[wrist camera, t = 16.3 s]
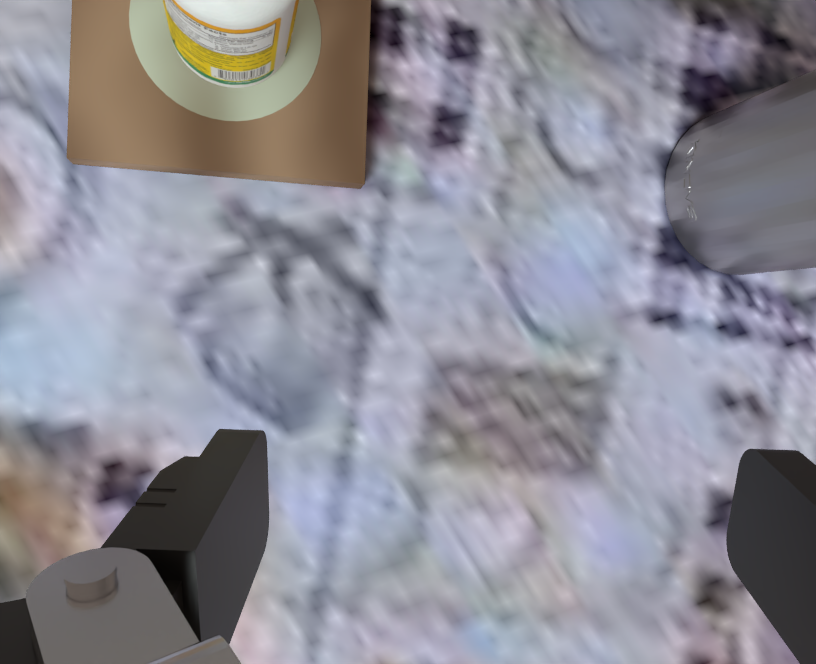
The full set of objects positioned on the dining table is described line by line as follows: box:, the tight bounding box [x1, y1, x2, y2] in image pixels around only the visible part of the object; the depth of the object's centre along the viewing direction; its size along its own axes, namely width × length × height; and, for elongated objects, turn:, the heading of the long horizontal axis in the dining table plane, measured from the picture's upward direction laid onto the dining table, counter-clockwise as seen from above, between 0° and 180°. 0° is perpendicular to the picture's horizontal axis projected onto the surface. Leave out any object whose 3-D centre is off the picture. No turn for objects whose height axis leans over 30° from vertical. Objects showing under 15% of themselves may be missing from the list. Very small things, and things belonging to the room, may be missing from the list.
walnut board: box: [67, 0, 371, 189], centre depth 32 cm, size 13×13×1 cm
